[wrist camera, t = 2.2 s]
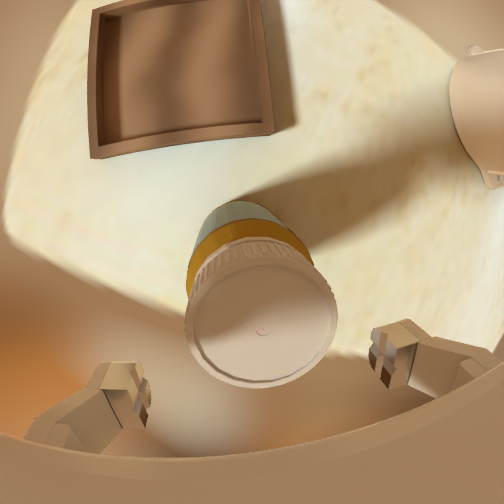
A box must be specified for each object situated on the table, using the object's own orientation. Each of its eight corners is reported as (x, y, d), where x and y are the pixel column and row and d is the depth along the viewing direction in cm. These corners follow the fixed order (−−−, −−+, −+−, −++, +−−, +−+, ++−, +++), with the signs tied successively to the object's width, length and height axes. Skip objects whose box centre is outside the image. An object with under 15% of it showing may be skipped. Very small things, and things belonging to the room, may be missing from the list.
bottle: (186, 257, 26) (150, 362, 11) (222, 185, 24) (223, 208, 10) (256, 290, 27) (291, 409, 13) (294, 222, 26) (378, 289, 11)
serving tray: (253, -4, 19) (257, -18, 17) (269, 135, 23) (274, 132, 21) (101, 20, 18) (92, 9, 16) (101, 159, 22) (90, 158, 20)
